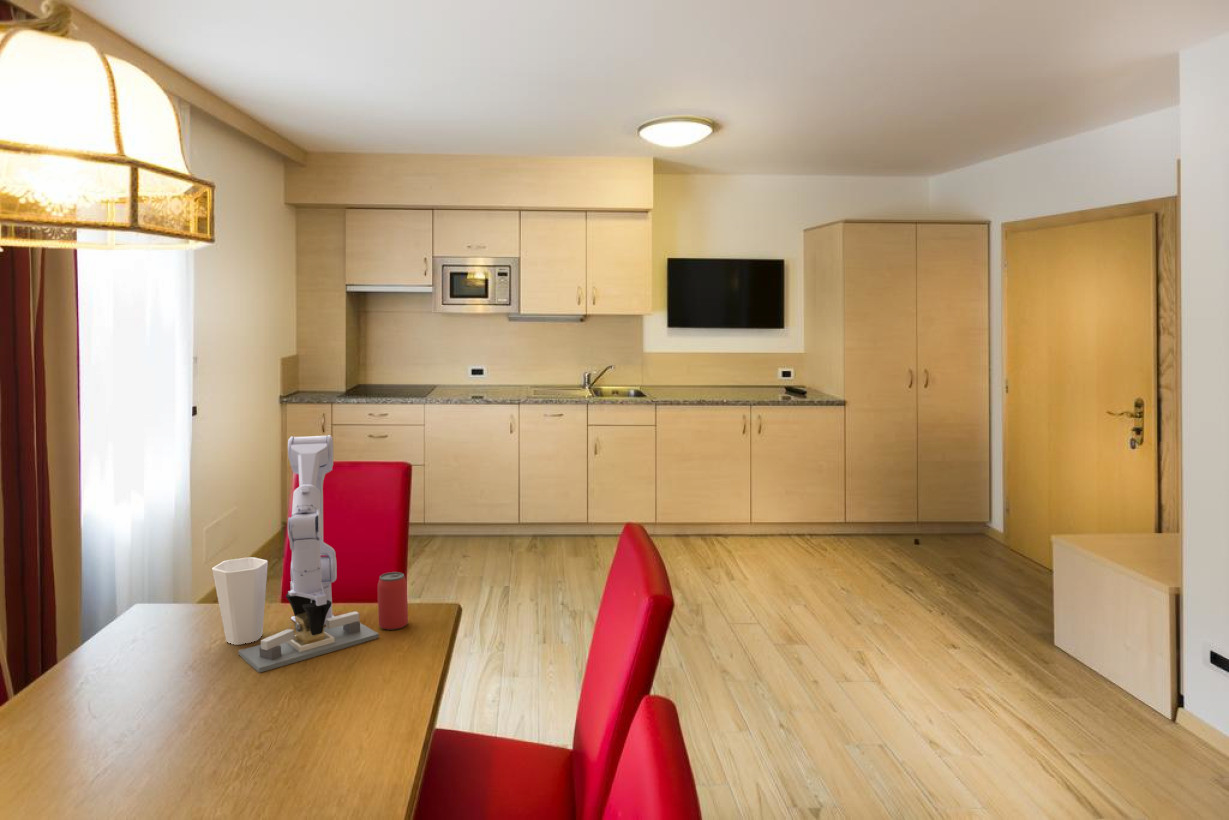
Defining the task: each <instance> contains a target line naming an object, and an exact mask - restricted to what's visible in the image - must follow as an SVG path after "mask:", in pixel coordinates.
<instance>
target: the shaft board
mask: <svg viewBox="0 0 1229 820" xmlns="http://www.w3.org/2000/svg"><path fill="white" fill-rule="evenodd" d="M334 616H335V615H334ZM324 637H325V639H324V640H321V641H317V642H313V643H310V644H306V645H303V646H302V645H300V644H299V643H298V642H296V634H295V630H294V629H291V628H287V629H284V630H282V631H280V632H278V633H275V634H272V635H270V636H267V637H265V638H263V639H260V644H257V645H254V646H251V647H246V648H242V649H239V650H238V656H239V655H240V656H241V657H242V658H241V657H240V658H241V659H243V660H244V661H245V662H246V663H247V664H248V665H250V666H251V668H253V669H254V671H255V670H256V671H257V673H264V672H267V671H270V670H273V669H277V668H280V667H284V666H287V665H290V664H294V663H295V664H296V663H299V662H301V661H304V660H307V659H312V658H314V657H318V656H321V655H326V654H328V653H332V652H334V651H335V652H336V651H339V650H342V649H345V648H350V647H353V646H357V645H360V644H363V643H367V642H369V640H370V641H373V640H372V639H374V640H377V639H379V638H380V634H379V633H378V632H377V631H376V630H373V629H371V628H369V627H368V626H366V625H365V624H363V623H362V622H360V613H359V612H358V611H356V610H355V611H351V612H347V613H342V614H339V615H336V616H335V617H331V618H327V619H326V625H325V626H324ZM376 638H377V639H376ZM366 641H367V642H366Z"/></svg>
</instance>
